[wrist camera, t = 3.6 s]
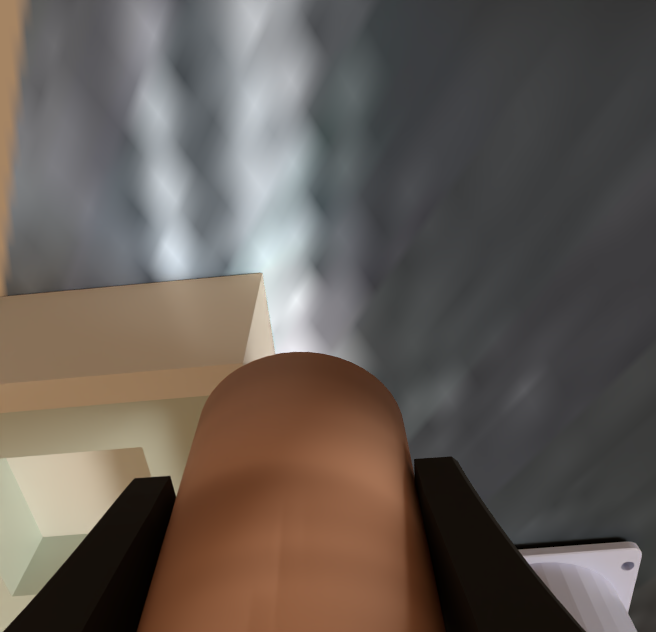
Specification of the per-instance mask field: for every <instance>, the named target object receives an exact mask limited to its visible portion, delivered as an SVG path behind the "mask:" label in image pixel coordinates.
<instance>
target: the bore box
mask: <svg viewBox="0 0 656 632" xmlns="http://www.w3.org/2000/svg"><path fill="white" fill-rule="evenodd" d="M271 355H275V349H274V342H273V336H272V330H271V324H270V317H269V311H268V305H267V299H266V292H265V286H264V280H263V274H262V273H256V274H245V275H234V276H223V277H212V278H201V279H190V280H179V281H168V282H157V283H146V284H135V285H124V286H114V287H103V288H92V289H81V290H70V291H59V292H48V293H37V294H26V295H15V296H4V297H0V632H3V631H4V630H5V629H6V628H7V627H8V626H9V624H10V623H11V622H12V621H13V620H14V619H15V618H16V617H17V616H18V615H19V614H20V613H21V611H22V610H23V609H24V608H25V607H26V606H27V605H28V604H29V603H30V602H31V600H32V599H33V598H34V597H35V596H36V595H37V594H38V593H39V591H40V590H41V589H42V588H43V587H44V586H45V584H46V583H47V582H48V581H49V580H50V579H51V577H52V576H53V575H54V574H55V573H56V572H57V570H58V569H59V568H60V567H61V566H62V565H63V563H64V562H65V561H66V560H67V559H68V558H69V556H70V555H71V554H72V553H73V552H74V550H75V549H76V548H77V547H78V546H79V544H80V543H81V542H82V541H83V540H84V538H85V537H86V536H87V535H88V534H89V532H90V531H91V530H92V529H93V527H94V526H95V525H96V524H97V523H98V521H99V520H100V519H101V518H102V516H103V515H104V514H105V513H106V511H107V510H108V509H109V508H110V507H111V505H112V504H113V503H114V502H115V500H116V499H117V498H118V497H119V496H120V494H121V493H122V492H123V491H124V490H125V488H126V487H127V486H128V485H129V484H130V483H131V481H132V480H133V479H134V478H145V477H159V476H171V480H172V484H173V487H174V491H175V494H176V496H177V493H178V490H179V486H180V483H181V480H182V476H183V473H184V469H185V466H186V463H187V459H188V456H189V452H190V449H191V446H192V442H193V439H194V436H195V432H196V429H197V425H198V422H199V419H200V415H201V412H202V409H203V407H204V405H205V402H206V401H207V399H208V397H209V396H210V394H211V392H212V391H213V390H214V389H215V388H216V386H217V385H218V384H219V383H220V382H221V381H222V380H223V379H225V378H226V377H227V376H228V375H229V374H231V373H232V372H234V371H235V370H237V369H238V368H240V367H242V366H244V365H246V364H248V363H250V362H252V361H254V360H257V359H260V358H263V357H266V356H271Z"/></svg>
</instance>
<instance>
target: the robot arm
mask: <svg viewBox="0 0 656 632" xmlns="http://www.w3.org/2000/svg"><path fill="white" fill-rule="evenodd" d="M414 472H415V483H416V488H417V493H418V498H419V503H420V508H421V513H422V518H423V523H424V528H425V532H426V537H427V542H428V546H429V551H430V556H431V560H432V565H433V570H434V575H435V580H436V585H437V590H438V594H439V599H440V604H441V609H442V614H443V619H444V624H445V629H446V632H637V630H636V628H635V626H634V624H633V623H632V621H631V619H630V617H629V615H628V610H629V606H630V602H631V598H632V594H633V590H634V586H635V582H636V578H637V573H638V569H639V565H640V561H641V557H642V552H641V551H640V549H639V547H638V546H637V544H636V543H633V542H627V541H626V542H613V543H600V544H586V545H573V546H559V547H546V548H533V549H519V550H518V549H517V548H516V547H515V545H514V544H513V543H512V541H511V540H510V539H509V538H508V536H507V535H506V533H505V532H504V531H503V529H502V528H501V527H500V525H499V524H498V523H497V521H496V520H495V518H494V517H493V515H492V514H491V513H490V511H489V510H488V508H487V507H486V505H485V504H484V503H483V501H482V500H481V498H480V497H479V495H478V494H477V492H476V491H475V489H474V487H473V486H472V484H471V483H470V481H469V480H468V478H467V476H466V475H465V473H464V471H463V470H462V468H461V466H460V465H459V463H458V461H456V460H455V459H454V458H453V457H438V458H424V459H414ZM175 500H176V494H175V491H174V487H173V484H172V480H171V476H159V477H145V478H134V479H133V480H132V481H131V483H130V484H129V485H128V486H127V487H126V488H125V490H124V491H123V492H122V493H121V494H120V496H119V497H118V498H117V499H116V500H115V502H114V503H113V504H112V505H111V507H110V508H109V509H108V510H107V511H106V513H105V514H104V515H103V516H102V518H101V519H100V520H99V521H98V523H97V524H96V525H95V526H94V527H93V529H92V530H91V531H90V532H89V534H88V535H87V536H86V537H85V538H84V540H83V541H82V542H81V543H80V544H79V546H78V547H77V548H76V549H75V550H74V552H73V553H72V554H71V555H70V556H69V558H68V559H67V560H66V561H65V562H64V563H63V565H62V566H61V567H60V568H59V569H58V570H57V572H56V573H55V574H54V575H53V576H52V577H51V579H50V580H49V581H48V582H47V583H46V584H45V586H44V587H43V588H42V589H41V590H40V591H39V593H38V594H37V595H36V596H35V597H34V598H33V599H32V600H31V602H30V603H29V604H28V605H27V606H26V607H25V608H24V609H23V610H22V611H21V613H20V614H19V615H18V616H17V617H16V618H15V619H14V620H13V621H12V622H11V623H10V624H9V626H8V627H7V628H6V629H5V630H4V631H3V632H137V629H138V625H139V622H140V618H141V615H142V612H143V608H144V605H145V601H146V598H147V595H148V591H149V588H150V585H151V581H152V578H153V574H154V571H155V568H156V564H157V561H158V557H159V554H160V551H161V547H162V544H163V540H164V537H165V534H166V530H167V527H168V524H169V520H170V517H171V513H172V510H173V507H174V503H175Z"/></svg>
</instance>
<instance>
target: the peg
mask: <svg viewBox="0 0 656 632" xmlns="http://www.w3.org/2000/svg"><path fill="white" fill-rule="evenodd" d="M137 632H446V629H445V624H444V619H443V614H442V609H441V604H440V599H439V594H438V590H437V585H436V580H435V575H434V570H433V565H432V560H431V556H430V551H429V546H428V542H427V537H426V532H425V528H424V523H423V518H422V513H421V508H420V503H419V498H418V493H417V488H416V483H415V477H414V472H413V467H412V462H411V457H410V452H409V447H408V442H407V437H406V432H405V427H404V423H403V418H402V414H401V412H400V409H399V407H398V404H397V402H396V401H395V399H394V397H393V396H392V394H391V393H390V392H389V390H388V389H387V388H386V387H385V386H384V384H382V383H381V382H380V381H379V380H378V379H377V378H376V377H375V376H373V375H372V374H370V373H369V372H368V371H366V370H365V369H363V368H361V367H359V366H357V365H355V364H353V363H351V362H349V361H346V360H343V359H341V358H338V357H334V356H330V355H326V354H320V353H312V352H290V353H280V354H275V355H271V356H266V357H263V358H260V359H257V360H254V361H252V362H250V363H248V364H246V365H244V366H242V367H240V368H238V369H237V370H235V371H234V372H232V373H231V374H229V375H228V376H227V377H226V378H225V379H223V380H222V381H221V382H220V383H219V384H218V385H217V386H216V388H215V389H214V390H213V391H212V392H211V394H210V396H209V397H208V399H207V401H206V402H205V405H204V407H203V409H202V412H201V415H200V419H199V422H198V425H197V429H196V432H195V436H194V439H193V442H192V446H191V449H190V452H189V456H188V459H187V463H186V466H185V469H184V473H183V476H182V480H181V483H180V486H179V490H178V493H177V496H176V500H175V503H174V507H173V510H172V513H171V517H170V520H169V524H168V527H167V530H166V534H165V537H164V540H163V544H162V547H161V551H160V554H159V557H158V561H157V564H156V568H155V571H154V574H153V578H152V581H151V585H150V588H149V591H148V595H147V598H146V601H145V605H144V608H143V612H142V615H141V618H140V622H139V625H138V629H137Z"/></svg>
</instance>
